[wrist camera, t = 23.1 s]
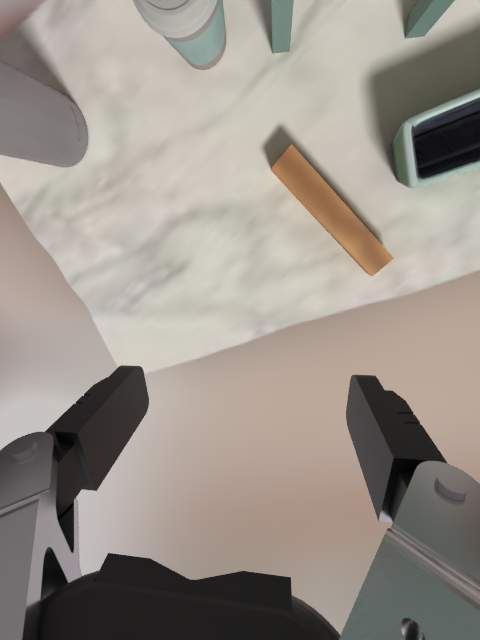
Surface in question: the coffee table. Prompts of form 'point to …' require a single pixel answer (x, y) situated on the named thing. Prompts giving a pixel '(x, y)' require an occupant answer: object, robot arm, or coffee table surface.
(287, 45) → the tall green stool
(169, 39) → the coffee cup
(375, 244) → the block
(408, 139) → the planter
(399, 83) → the coffee table surface
